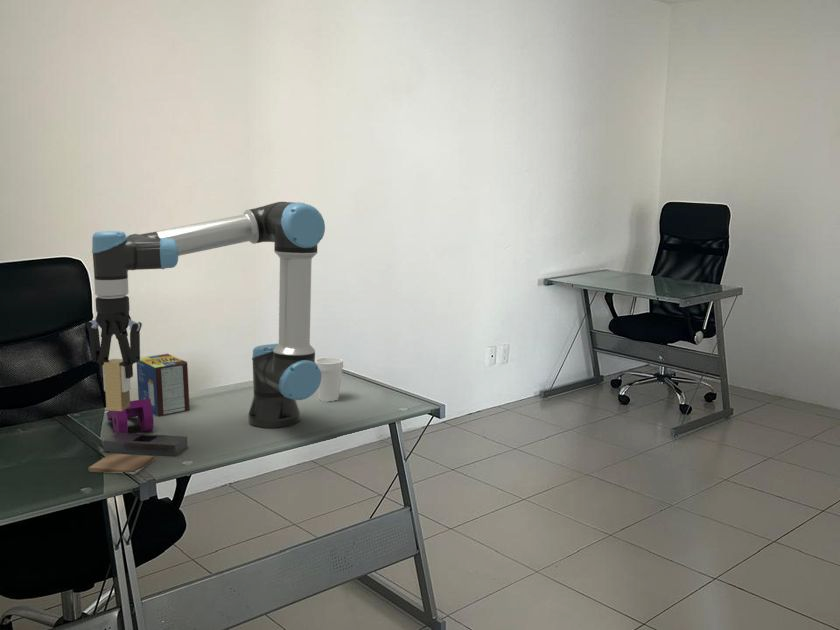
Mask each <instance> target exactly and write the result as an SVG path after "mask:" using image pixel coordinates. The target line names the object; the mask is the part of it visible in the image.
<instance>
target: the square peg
mask: <svg viewBox="0 0 840 630" xmlns="http://www.w3.org/2000/svg"><path fill="white" fill-rule="evenodd" d="M122 364H124V363H123V359H122V358H111V359H108V361H106V362H104V375H105V391H104V392H105V407H106V408H105V409H106V411H109V410H111V411H123V410H125V409H127V408H129V407H130V401H131V394H130V393H131V391H130V390H129V391H127V392H122V379H121V366H122Z"/></svg>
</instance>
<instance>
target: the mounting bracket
mask: <svg viewBox="0 0 840 630" xmlns="http://www.w3.org/2000/svg"><path fill="white" fill-rule="evenodd" d="M106 417H107V421H109V422H110V421H111V422H112V428H113V431H114V434H115V433H117V432H121V433H128V431H129V430H128V428H129V427H128V426H129V425H128V424H129V423H128V422H129V421H128V419H127V418H129V419H133V418H136V417H137V421H138V426H139V430H141V431H142V432H148V431H153V429H154V424H155V423H154V422H155V421H154V414H153V412H152V406H151V400H150V398H149V399H142V400H139V399H137V400H130V407H129V408H127V409H125V410H123V411H111V410H107V412H106Z"/></svg>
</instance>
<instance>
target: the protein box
mask: <svg viewBox="0 0 840 630" xmlns="http://www.w3.org/2000/svg"><path fill="white" fill-rule="evenodd" d="M135 364H136V374H137V375H136V376H137V377H136V378H137V380H136V381H137V395H138V396H137V397H138V400H142V399H149V398H150V400H151V406H152V412H153V416H156V417H157V416H158V417H162V416H166V415H173V414H177V413H182V412H183V413H184V412H189V411H190V393H189V391H190V388H189V368H188V361H186V360H183V359H181V358H178V357H176V356H174V355H171V354H169V353H164V354H157V355H150V356H140V361H138V362H136V363H135Z"/></svg>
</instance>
